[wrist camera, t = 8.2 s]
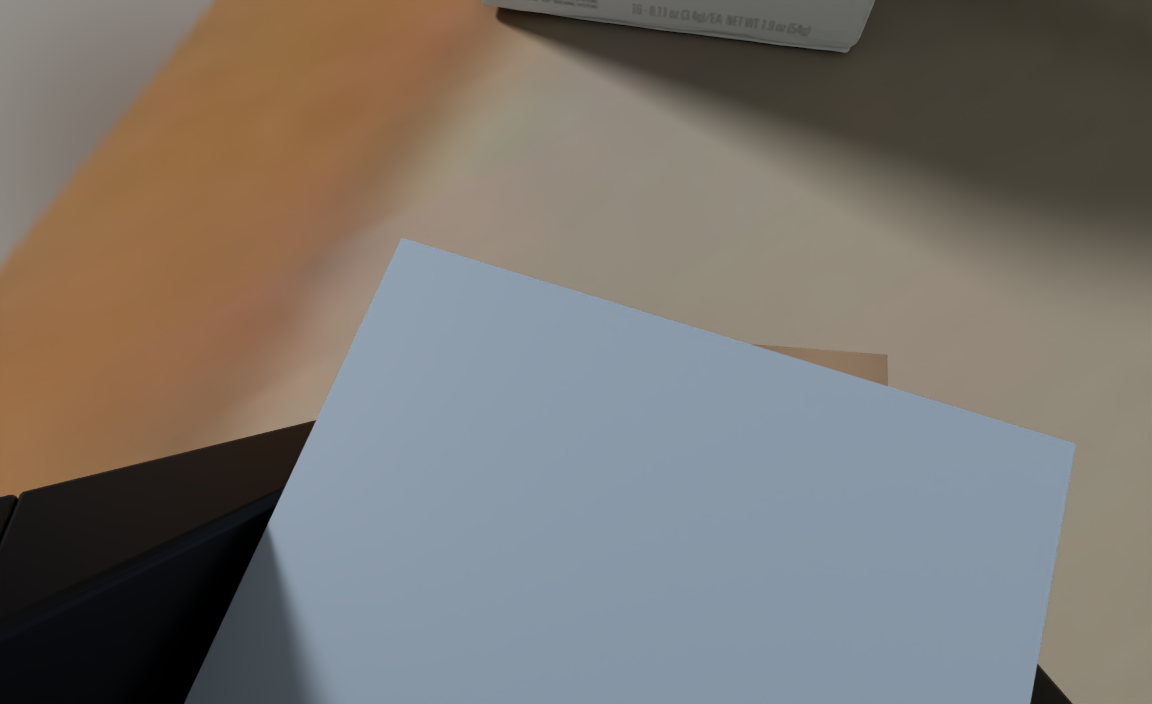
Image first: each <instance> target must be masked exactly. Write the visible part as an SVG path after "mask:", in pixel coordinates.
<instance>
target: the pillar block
mask: <svg viewBox="0 0 1152 704" xmlns="http://www.w3.org/2000/svg"><path fill="white" fill-rule="evenodd" d="M1075 446H1076V444H1075V443H1072V442H1068V441H1065V440H1062V439H1059V438H1055V437H1052V436H1049V435H1045V434H1042V433H1039V432H1036V431H1032V430H1029V429H1026V428H1023V427H1019V426H1016V425H1013V424H1009V423H1006V422H1003V421H1000V420H996V419H993V418H990V417H987V416H983V415H980V414H977V413H974V412H970V411H967V410H964V409H960V408H957V407H954V406H951V405H947V404H944V403H941V402H938V401H934V400H931V399H928V398H924V397H921V396H918V395H915V394H911V393H908V392H905V391H902V390H898V389H895V388H892V387H889V386H885V385H882V384H879V383H875V382H872V381H869V380H866V379H862V378H859V377H856V376H853V375H849V374H846V373H843V372H839V371H836V370H833V369H830V368H826V367H823V366H820V365H817V364H813V363H810V362H807V361H803V360H800V359H797V358H794V357H790V356H787V355H784V354H781V353H777V352H774V351H771V350H768V349H764V348H761V347H758V346H754V345H751V344H748V343H745V342H741V341H738V340H735V339H732V338H728V337H725V336H722V335H718V334H715V333H712V332H709V331H705V330H702V329H699V328H696V327H692V326H689V325H686V324H682V323H679V322H676V321H673V320H669V319H666V318H663V317H660V316H656V315H653V314H650V313H647V312H643V311H640V310H637V309H633V308H630V307H627V306H624V305H620V304H617V303H614V302H611V301H607V300H604V299H601V298H597V297H594V296H591V295H588V294H584V293H581V292H578V291H575V290H571V289H568V288H565V287H562V286H558V285H555V284H552V283H548V282H545V281H542V280H539V279H535V278H532V277H529V276H526V275H522V274H519V273H516V272H512V271H509V270H506V269H503V268H499V267H496V266H493V265H490V264H486V263H483V262H480V261H476V260H473V259H470V258H467V257H463V256H460V255H457V254H454V253H450V252H447V251H444V250H441V249H437V248H434V247H431V246H427V245H424V244H421V243H418V242H414V241H411V240H408V239H405V238H401V240H400V242H399V244H398V246H397V249H396V251H395V253H394V255H393V257H392V259H391V261H390V263H389V266H388V268H387V270H386V272H385V274H384V276H383V278H382V281H381V283H380V285H379V287H378V289H377V291H376V293H375V296H374V298H373V300H372V302H371V304H370V306H369V308H368V311H367V313H366V315H365V317H364V319H363V321H362V323H361V326H360V328H359V330H358V332H357V334H356V336H355V338H354V341H353V343H352V345H351V347H350V349H349V351H348V353H347V356H346V358H345V360H344V362H343V364H342V366H341V368H340V371H339V373H338V375H337V377H336V379H335V381H334V383H333V386H332V388H331V390H330V392H329V394H328V396H327V398H326V401H325V403H324V405H323V407H322V409H321V411H320V413H319V416H318V418H317V420H316V422H315V424H314V426H313V428H312V431H311V433H310V435H309V437H308V439H307V441H306V443H305V446H304V448H303V450H302V452H301V454H300V456H299V458H298V461H297V463H296V465H295V467H294V469H293V471H292V473H291V476H290V478H289V480H288V482H287V484H286V486H285V488H284V491H283V493H282V495H281V497H280V499H279V501H278V503H277V506H276V508H275V510H274V512H273V514H272V516H271V518H270V521H269V523H268V525H267V527H266V529H265V531H264V533H263V536H262V538H261V540H260V542H259V544H258V546H257V548H256V551H255V553H254V555H253V557H252V559H251V561H250V563H249V566H248V568H247V570H246V572H245V574H244V576H243V578H242V581H241V583H240V585H239V587H238V589H237V591H236V593H235V596H234V598H233V600H232V602H231V604H230V606H229V608H228V611H227V613H226V615H225V617H224V619H223V621H222V623H221V626H220V628H219V630H218V632H217V634H216V636H215V638H214V641H213V643H212V645H211V647H210V649H209V651H208V653H207V656H206V658H205V660H204V662H203V664H202V666H201V668H200V671H199V673H198V675H197V677H196V679H195V681H194V683H193V686H192V688H191V690H190V692H189V694H188V696H187V698H186V701H185V703H184V704H1030V702H1031V697H1032V691H1033V685H1034V680H1035V674H1036V668H1037V662H1038V657H1039V651H1040V645H1041V640H1042V634H1043V628H1044V623H1045V617H1046V611H1047V605H1048V600H1049V594H1050V588H1051V583H1052V577H1053V571H1054V566H1055V560H1056V554H1057V548H1058V543H1059V537H1060V531H1061V526H1062V520H1063V514H1064V509H1065V503H1066V497H1067V491H1068V486H1069V480H1070V474H1071V469H1072V463H1073V457H1074V451H1075Z"/></svg>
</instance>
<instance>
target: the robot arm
mask: <svg viewBox="0 0 1152 704" xmlns="http://www.w3.org/2000/svg"><path fill="white" fill-rule="evenodd" d="M315 422H316V420H315V421H311V422H307V423H303V424H299V425H295V426H290V427H286V428H282V429H278V430H274V431H270V432H266V433H262V434H258V435H254V436H250V437H245V438H241V439H237V440H233V441H229V442H225V443H221V444H217V445H213V446H209V447H204V448H200V449H196V450H192V451H188V452H184V453H180V454H176V455H172V456H168V457H164V458H159V459H155V460H151V461H147V462H143V463H139V464H135V465H131V466H127V467H123V468H118V469H114V470H110V471H106V472H102V473H98V474H94V475H90V476H86V477H82V478H77V479H73V480H69V481H65V482H61V483H57V484H53V485H49V486H45V487H41V488H37V489H32V490H28V491H25V492H22V493H21V494H20V496H19V498H17V497H16V496H15V495H7V496H3V497H0V704H184V703H185V701H186V698H187V696H188V694H189V692H190V690H191V688H192V686H193V683H194V681H195V679H196V677H197V675H198V673H199V671H200V668H201V666H202V664H203V662H204V660H205V658H206V656H207V653H208V651H209V649H210V647H211V645H212V643H213V641H214V638H215V636H216V634H217V632H218V630H219V628H220V626H221V623H222V621H223V619H224V617H225V615H226V613H227V611H228V608H229V606H230V604H231V602H232V600H233V598H234V596H235V593H236V591H237V589H238V587H239V585H240V583H241V581H242V578H243V576H244V574H245V572H246V570H247V568H248V566H249V563H250V561H251V559H252V557H253V555H254V553H255V551H256V548H257V546H258V544H259V542H260V540H261V538H262V536H263V533H264V531H265V529H266V527H267V525H268V523H269V521H270V518H271V516H272V514H273V512H274V510H275V508H276V506H277V503H278V501H279V499H280V497H281V495H282V493H283V491H284V488H285V486H286V484H287V482H288V480H289V478H290V476H291V473H292V471H293V469H294V467H295V465H296V463H297V461H298V458H299V456H300V454H301V452H302V450H303V448H304V446H305V443H306V441H307V439H308V437H309V435H310V433H311V431H312V428H313V426H314V424H315ZM1030 704H1072V703H1071V701H1070V700H1069V699H1068V698H1067V697H1066V696H1065V695H1064V693H1063V692H1062V691H1061V690H1060V689H1059V688H1058V687H1057V685H1056V684H1055V683H1054V682H1053V681H1052V680H1051V678H1050V677H1049V676H1048V675H1047V674H1046V673H1045V672H1044V670H1043V669H1042V668H1041V667H1040V666H1039V665H1038V664H1037V668H1036V674H1035V680H1034V685H1033V691H1032V697H1031V702H1030Z"/></svg>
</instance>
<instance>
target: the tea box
mask: <svg viewBox="0 0 1152 704" xmlns="http://www.w3.org/2000/svg"><path fill="white" fill-rule="evenodd" d="M482 2H483V4H484V5H486V6H495V7H502V8H508V9H514V10H520V11H529V12H539V13H545V14H552V15H558V16H564V17H570V18H576V19H583V20H591V21H598V22H606V23H614V24H622V25H629V26H636V27H643V28H650V29H657V30H665V31H673V32H682V33H691V34H699V35H706V36H713V37H721V38H729V39H738V40H747V41H754V42H761V43H768V44H775V45H783V46H794V47H802V48H810V49H819V50H831V51H837V52H843V53H847V52H848V51H849V50H850V47H851V46H853V45H855V44H856V43H857V42H858V40H859V39H860V37H861V34H862V32H863V29H864V27H865V25H866V22H867V20H868V17H869V15H870V12H871V10H872V7H873V5H874V2H875V0H482Z"/></svg>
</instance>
